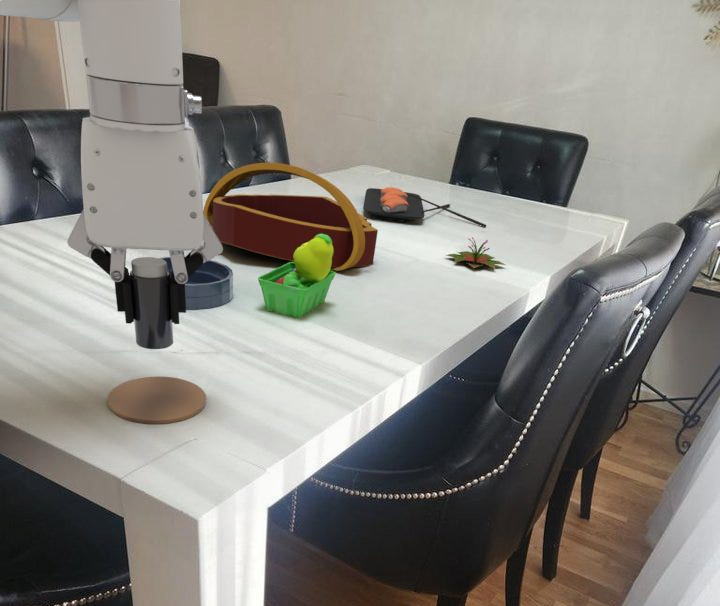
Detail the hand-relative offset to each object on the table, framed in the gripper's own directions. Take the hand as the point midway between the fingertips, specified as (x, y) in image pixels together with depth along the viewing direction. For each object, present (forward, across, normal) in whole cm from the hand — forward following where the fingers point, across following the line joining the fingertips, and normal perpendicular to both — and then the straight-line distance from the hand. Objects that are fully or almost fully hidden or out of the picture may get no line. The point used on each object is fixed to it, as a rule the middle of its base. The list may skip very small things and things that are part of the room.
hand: (153, 316), depth 64 cm
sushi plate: (+9, -63, -97) cm, 116 cm away
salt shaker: (+3, 0, 0) cm, 3 cm away
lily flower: (+10, -60, -56) cm, 83 cm away
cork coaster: (+9, 0, 0) cm, 9 cm away
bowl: (+9, -4, -32) cm, 34 cm away
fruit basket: (+9, -20, -28) cm, 36 cm away
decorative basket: (+9, -22, -58) cm, 63 cm away
